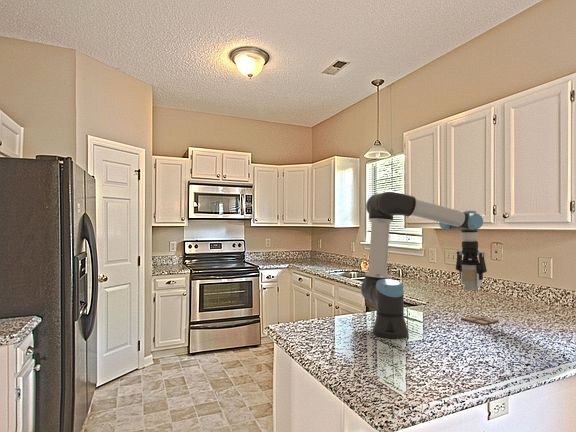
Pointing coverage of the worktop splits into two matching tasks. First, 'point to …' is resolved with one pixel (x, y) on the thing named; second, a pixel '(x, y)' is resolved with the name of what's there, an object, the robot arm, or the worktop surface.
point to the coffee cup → (470, 274)
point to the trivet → (480, 320)
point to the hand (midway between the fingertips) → (471, 285)
